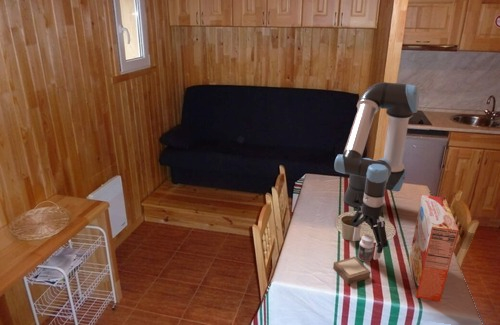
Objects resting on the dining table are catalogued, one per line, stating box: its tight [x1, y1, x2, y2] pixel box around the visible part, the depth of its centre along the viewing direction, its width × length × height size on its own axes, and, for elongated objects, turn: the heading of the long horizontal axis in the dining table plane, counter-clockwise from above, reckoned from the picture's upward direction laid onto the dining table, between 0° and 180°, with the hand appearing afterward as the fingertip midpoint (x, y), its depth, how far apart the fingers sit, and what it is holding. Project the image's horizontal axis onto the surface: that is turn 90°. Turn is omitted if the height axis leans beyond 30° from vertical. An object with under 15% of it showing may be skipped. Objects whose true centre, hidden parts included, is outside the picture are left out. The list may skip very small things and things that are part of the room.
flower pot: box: [339, 214, 363, 242], centre depth 173 cm, size 9×9×9 cm
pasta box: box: [408, 194, 459, 302], centre depth 143 cm, size 23×8×30 cm, turn 166°
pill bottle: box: [357, 234, 375, 262], centre depth 159 cm, size 6×6×10 cm
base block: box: [332, 256, 371, 285], centre depth 151 cm, size 10×10×3 cm
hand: (365, 249), depth 159 cm, fingers open, 13 cm apart
